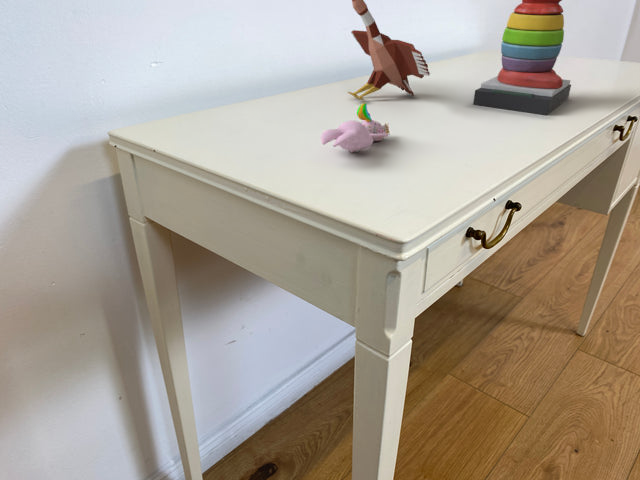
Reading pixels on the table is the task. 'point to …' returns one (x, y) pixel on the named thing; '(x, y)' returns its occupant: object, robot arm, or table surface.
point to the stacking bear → (532, 45)
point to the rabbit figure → (356, 132)
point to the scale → (520, 97)
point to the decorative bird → (386, 56)
